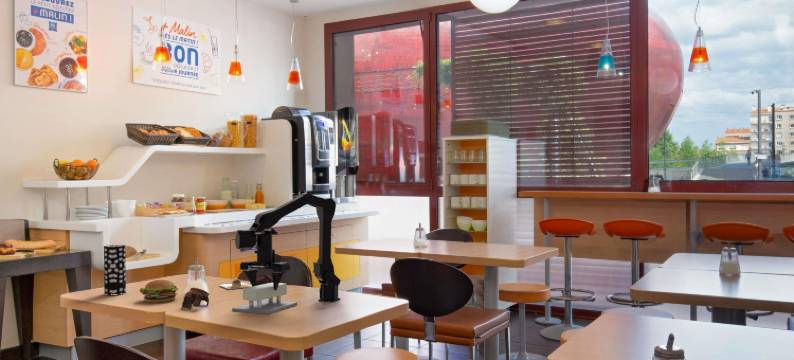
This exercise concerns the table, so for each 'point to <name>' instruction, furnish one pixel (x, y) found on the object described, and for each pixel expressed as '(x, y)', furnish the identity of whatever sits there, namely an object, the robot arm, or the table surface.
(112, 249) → the white-spotted black cylinder
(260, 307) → the peg plate
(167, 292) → the food
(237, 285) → the dessert
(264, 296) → the shelf board
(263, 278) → the icecream
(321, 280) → the robot arm
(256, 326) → the table surface
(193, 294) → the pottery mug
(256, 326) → the table surface
